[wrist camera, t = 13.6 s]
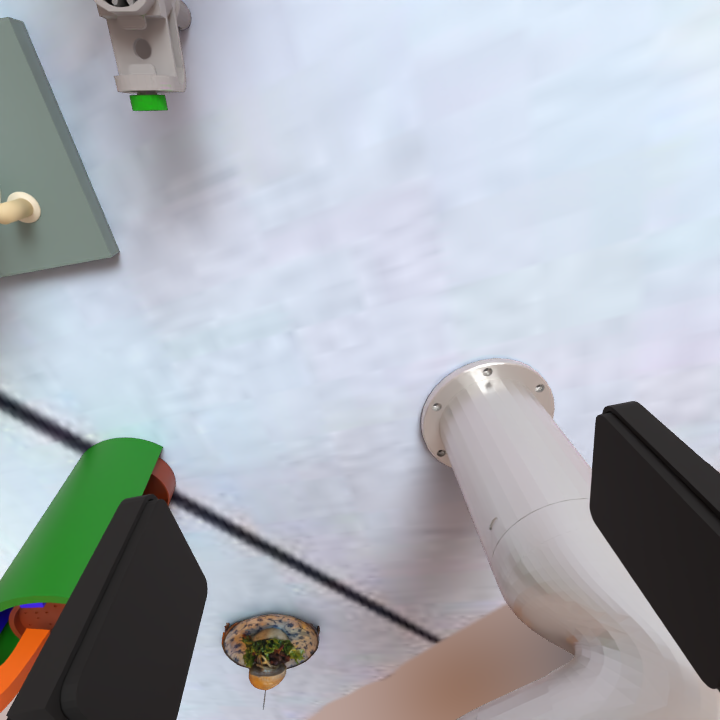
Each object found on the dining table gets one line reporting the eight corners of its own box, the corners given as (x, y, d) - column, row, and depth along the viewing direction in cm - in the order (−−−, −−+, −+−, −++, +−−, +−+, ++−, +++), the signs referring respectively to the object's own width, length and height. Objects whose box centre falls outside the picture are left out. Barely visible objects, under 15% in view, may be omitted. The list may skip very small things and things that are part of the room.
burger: (336, 617, 57) (339, 682, 51) (291, 665, 62) (288, 731, 55) (249, 590, 54) (240, 656, 47) (207, 644, 58) (193, 712, 51)
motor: (179, 517, 47) (98, 758, 29) (86, 516, 46) (-56, 766, 28) (171, 438, 42) (69, 669, 25) (68, 435, 41) (-117, 674, 24)
